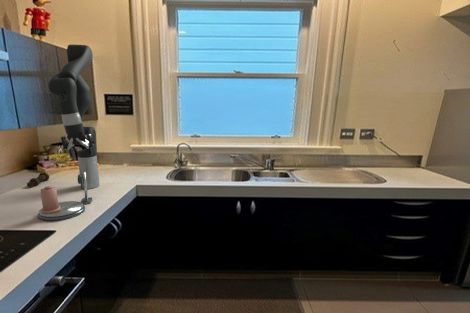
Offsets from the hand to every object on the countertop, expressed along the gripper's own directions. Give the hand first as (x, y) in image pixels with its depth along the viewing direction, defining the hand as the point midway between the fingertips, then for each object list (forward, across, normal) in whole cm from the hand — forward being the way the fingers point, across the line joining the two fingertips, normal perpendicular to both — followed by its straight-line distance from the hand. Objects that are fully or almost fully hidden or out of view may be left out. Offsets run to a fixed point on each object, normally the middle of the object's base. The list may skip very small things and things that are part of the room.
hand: (82, 156), depth 133 cm
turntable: (+17, +1, +21) cm, 27 cm away
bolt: (+20, +42, -17) cm, 49 cm away
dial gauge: (+20, -2, +9) cm, 22 cm away
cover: (+15, +3, +25) cm, 29 cm away
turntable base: (+18, +1, +22) cm, 28 cm away
